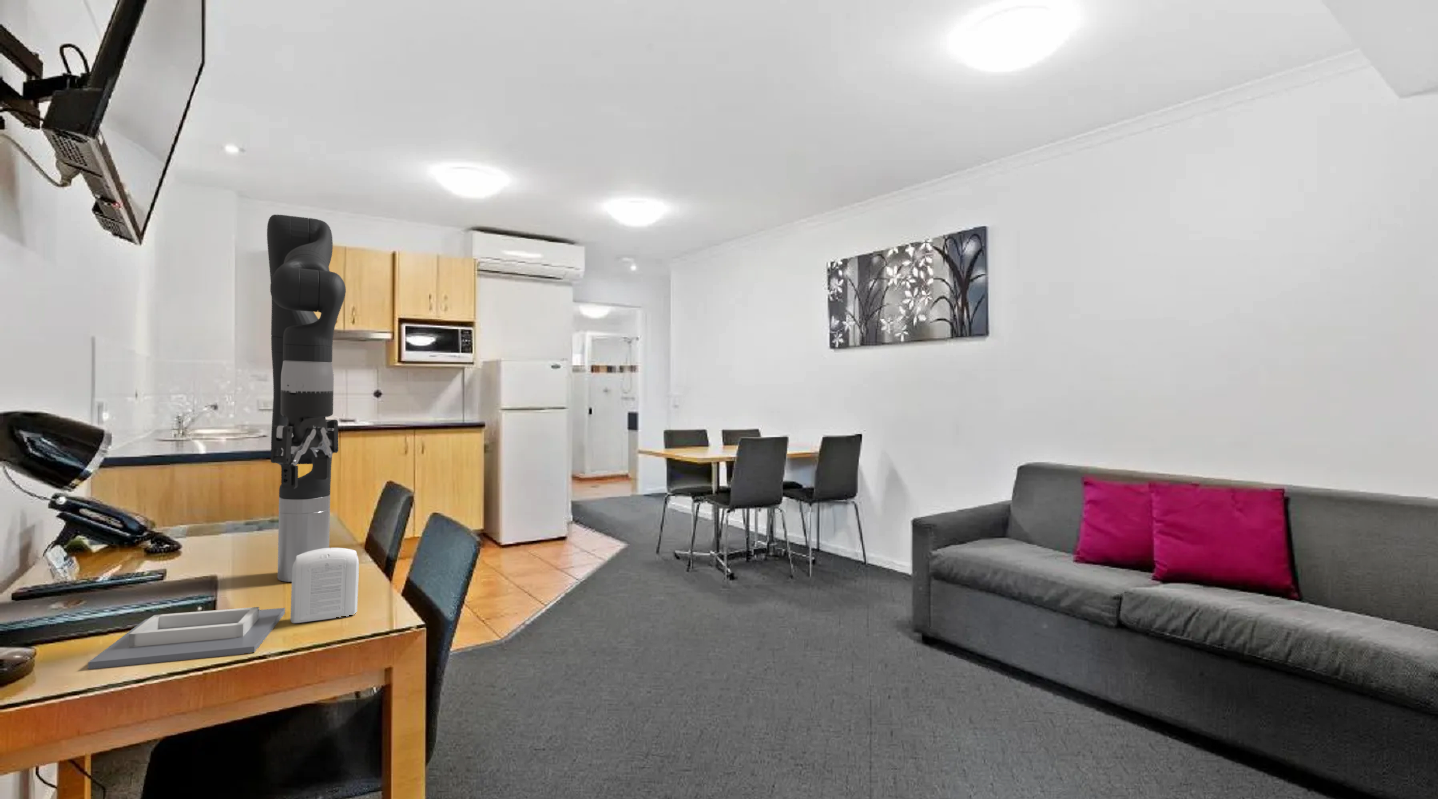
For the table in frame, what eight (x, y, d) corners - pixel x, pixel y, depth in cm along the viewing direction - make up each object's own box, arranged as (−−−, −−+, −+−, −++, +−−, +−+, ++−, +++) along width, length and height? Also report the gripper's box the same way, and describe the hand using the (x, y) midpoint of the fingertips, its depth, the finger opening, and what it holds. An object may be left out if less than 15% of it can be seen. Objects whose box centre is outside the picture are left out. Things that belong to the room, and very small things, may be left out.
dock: (146, 624, 110) (146, 607, 110) (284, 613, 117) (285, 596, 117) (88, 669, 93) (88, 648, 93) (254, 652, 100) (254, 633, 100)
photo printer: (356, 609, 120) (358, 543, 120) (358, 616, 117) (360, 548, 117) (290, 618, 115) (291, 549, 114) (290, 626, 111) (291, 554, 111)
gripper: (312, 386, 116) (310, 475, 117) (255, 388, 102) (254, 490, 103) (353, 388, 116) (352, 477, 117) (302, 390, 102) (301, 492, 103)
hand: (306, 483), depth 110 cm, fingers open, 8 cm apart
